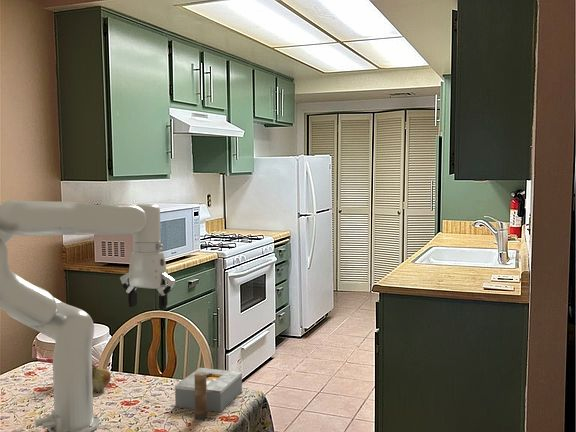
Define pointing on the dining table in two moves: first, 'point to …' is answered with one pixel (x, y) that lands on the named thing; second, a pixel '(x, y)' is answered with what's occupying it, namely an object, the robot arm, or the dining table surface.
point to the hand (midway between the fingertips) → (147, 307)
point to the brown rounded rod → (200, 396)
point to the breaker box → (210, 389)
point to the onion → (100, 378)
